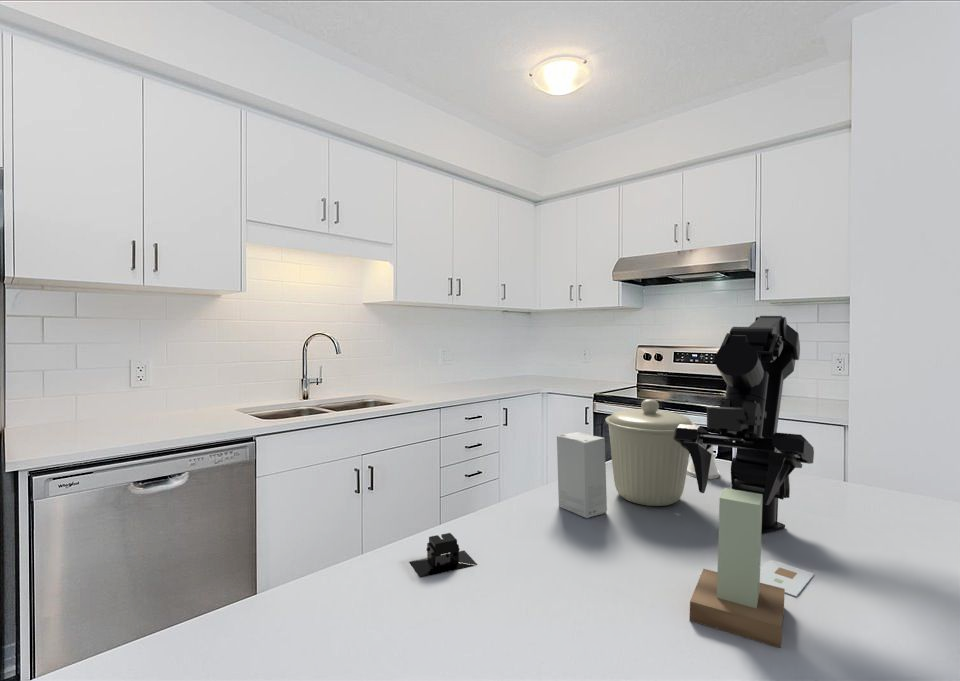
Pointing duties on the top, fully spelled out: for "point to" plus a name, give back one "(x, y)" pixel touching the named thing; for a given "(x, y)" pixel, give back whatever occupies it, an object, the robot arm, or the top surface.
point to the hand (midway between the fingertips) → (732, 498)
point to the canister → (648, 454)
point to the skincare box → (582, 474)
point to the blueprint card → (785, 577)
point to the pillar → (739, 547)
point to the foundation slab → (739, 611)
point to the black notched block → (442, 557)
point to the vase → (712, 470)
